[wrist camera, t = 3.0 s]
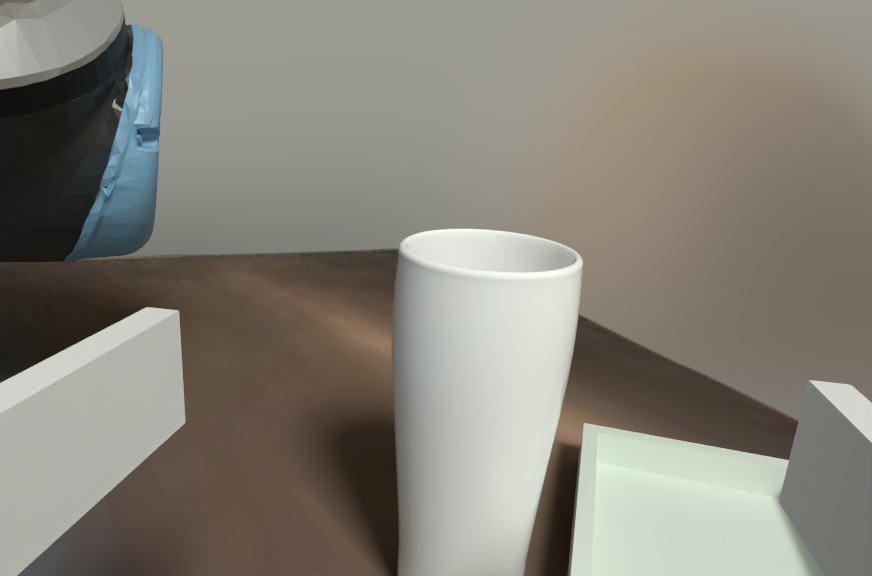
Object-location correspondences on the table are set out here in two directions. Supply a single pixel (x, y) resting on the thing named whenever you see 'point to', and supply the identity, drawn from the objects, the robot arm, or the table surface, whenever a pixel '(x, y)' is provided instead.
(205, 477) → the table surface
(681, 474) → the tray
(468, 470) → the drinking glass
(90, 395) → the robot arm
